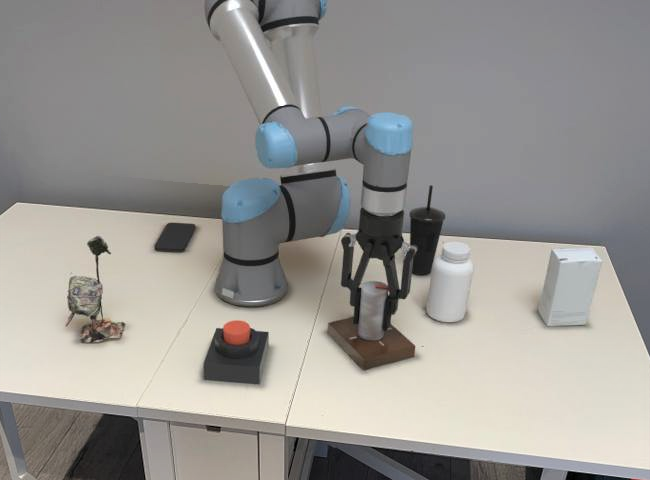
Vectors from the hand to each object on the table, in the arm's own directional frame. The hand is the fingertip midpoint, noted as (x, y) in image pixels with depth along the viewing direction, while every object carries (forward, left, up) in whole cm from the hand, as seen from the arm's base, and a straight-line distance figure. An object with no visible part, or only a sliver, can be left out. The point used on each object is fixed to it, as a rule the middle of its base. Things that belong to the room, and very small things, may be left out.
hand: (371, 323), depth 144 cm
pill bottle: (-8, +19, -5) cm, 21 cm away
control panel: (0, 0, -5) cm, 5 cm away
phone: (-55, -31, -5) cm, 63 cm away
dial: (0, 0, -2) cm, 2 cm away
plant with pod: (-15, -51, -5) cm, 53 cm away
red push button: (+1, -26, +1) cm, 26 cm away
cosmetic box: (-1, +41, -5) cm, 41 cm away
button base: (+1, -26, -5) cm, 26 cm away
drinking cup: (-27, +21, -5) cm, 35 cm away
